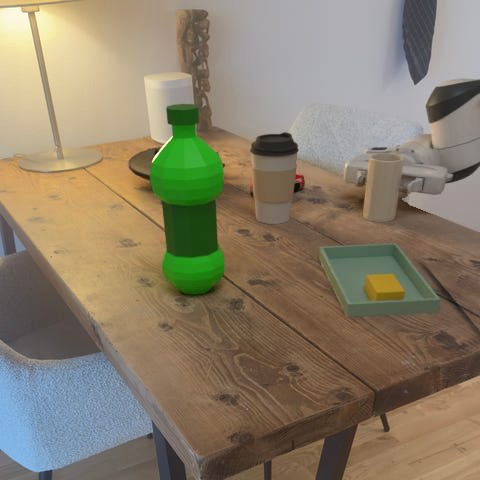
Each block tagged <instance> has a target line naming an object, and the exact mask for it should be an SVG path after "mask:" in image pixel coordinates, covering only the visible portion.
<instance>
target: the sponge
mask: <svg viewBox="0 0 480 480" xmlns="http://www.w3.org/2000/svg"><path fill="white" fill-rule="evenodd" d="M364 291H365V292H366V294H367V296H368V298H369V299H370V301H389V300H403V299H404V294H405V291H404V289H403V288H402V286H401V285H400V284H399V282H398V281H397V279H396V278H395V276H394V275H393V274H378V275H366V282H365V290H364Z"/></svg>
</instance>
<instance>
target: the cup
mask: <svg viewBox="0 0 480 480" xmlns="http://www.w3.org/2000/svg"><path fill="white" fill-rule="evenodd" d="M403 164H404V157H403V156H401V155H398V154H393V153H378V154H373V155H371V156H370V157H369V165H368V174H367V183H366V185H365V191H364V200H363V209H362V217H363V219H364V220H366V221H370V222H374V223H375V222H376V223H387V222H392V221H394V220H395V219H396V215H397V210H398V202H399V196H400V192H399V190H400V183H401V177H402V170H403Z"/></svg>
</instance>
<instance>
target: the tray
mask: <svg viewBox="0 0 480 480" xmlns="http://www.w3.org/2000/svg"><path fill="white" fill-rule="evenodd" d="M318 260H319V262H320V265H321V267H322V268H323V270H324V272H325V274H326V277H327V279H328V281H329V284H330V285H331V288H332V289H333V292H334V294H335V296H336V298H337V300H338V302H339V304H340V306H341V309H342V310H343V313H344V315H345V318H363V317H383V316H399V315H400V316H401V315H402V316H403V315H419V314H434V313H435V314H436V313H437V314H438V311H439V308H440V303H441V298H440V297H439V296H438V293H436V292H435V290H434V289H433V287H431V285H430V283H428V281H427V280H426V279H425V278H424V277H423V275H422V274H421V272H419V270H418V268H416V266H415V265H414V264H413V263H412V262H413V261H411V260H410V259H409V257H408V256H407V255H406V254H405V252H404V251H403V250H402V248H401V247H400V246H399V245H398V243H397V242H389V243H388V242H387V243H370V244H369V243H368V244H367V243H366V244H351V245H350V244H349V245H329V246H319V251H318ZM378 274H393V275H394V276H395V278H396V279H397V281H398V282H399V284H400V285H401V286H402V288H403V289H404V291H405V294H404V299H403V300H389V301H370V299H369V298H368V296H367V294H366V292H365V291H364V290H365V282H366V275H378Z"/></svg>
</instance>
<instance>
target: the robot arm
mask: <svg viewBox="0 0 480 480" xmlns="http://www.w3.org/2000/svg"><path fill="white" fill-rule="evenodd" d="M425 110H426V115H427V121H428V124H429V126H430V127H429V128H430V133H422V134H417V135H414V136H413V137H410V138H409V139H407V140H405V141H404V142H403V143H401V144H396V145H391V146H387V147H386V146H382V147H379V146H378V147H377V146H376V147H368V148H366V149H364V153H360V154H357V155H355V156H354V157H352V158H350V159H348V160H347V161H346V163H345V164H344V169H343V181H344V182H345V183H347V184H354V187H356V188H364V187H366V183H367V174H368V165H369V157H370V156H371V155H373V154H378V153H393V154H398V155H401V156H403V157H404V164H403V170H402V177H401V183H400V190H399V193H402V194H406V195H411V194H412V193H419V194H427V195H433V196H437V195H441V194H442V193H443V191H444V189H445V188H446V184H451V183H455V182H458V181H461V180H464V179H467V178H468V177H470V176H471V175H473V174H474V173H475V172H476V171H477V170H478V169H479V168H480V78H454V79H450V80H449V79H448V80H447V81H446V80H445V81H444V82H442V83H440V84H438V85H437V86H435V87H434V89H433V90H432V92H431V93H430V95H429V97H428V99H427V101H426V104H425Z"/></svg>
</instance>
